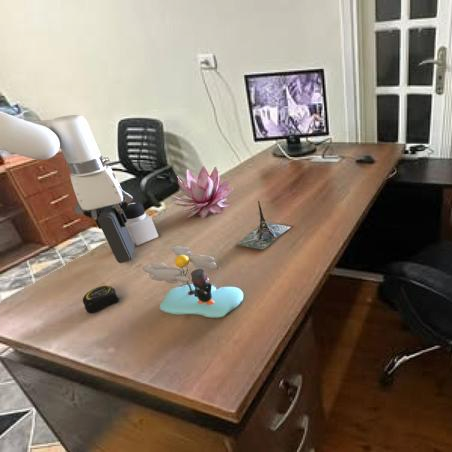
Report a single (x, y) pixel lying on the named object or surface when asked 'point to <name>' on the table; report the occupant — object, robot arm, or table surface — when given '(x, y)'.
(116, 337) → the table surface
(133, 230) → the medicine bottle
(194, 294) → the penguin figurine
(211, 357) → the table surface
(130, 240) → the card reader
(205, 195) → the decorative flower
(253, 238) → the eiffel tower figurine
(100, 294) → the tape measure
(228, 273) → the table surface
